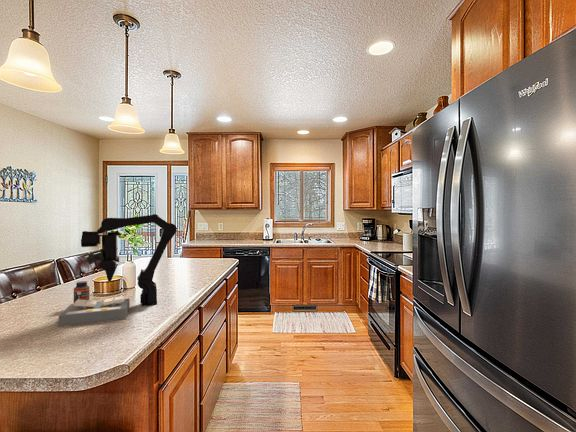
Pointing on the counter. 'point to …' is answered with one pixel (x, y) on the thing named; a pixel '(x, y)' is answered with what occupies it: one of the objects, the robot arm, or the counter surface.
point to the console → (94, 313)
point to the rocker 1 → (85, 303)
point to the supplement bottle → (81, 291)
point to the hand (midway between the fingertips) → (109, 281)
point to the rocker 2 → (113, 300)
